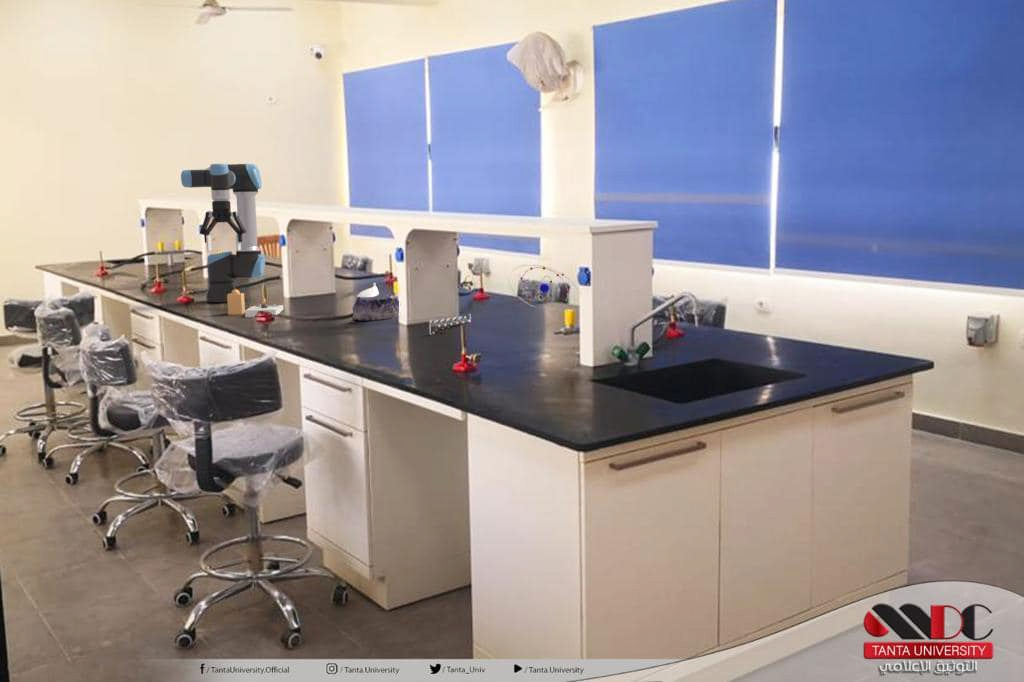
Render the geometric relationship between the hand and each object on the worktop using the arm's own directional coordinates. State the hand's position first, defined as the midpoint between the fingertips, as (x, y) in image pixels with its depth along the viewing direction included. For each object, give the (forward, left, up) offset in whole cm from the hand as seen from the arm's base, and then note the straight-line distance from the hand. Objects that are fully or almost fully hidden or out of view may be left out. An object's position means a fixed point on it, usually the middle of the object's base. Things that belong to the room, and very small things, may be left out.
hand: (224, 250), depth 428 cm
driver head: (-48, +61, -25) cm, 81 cm away
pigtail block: (-3, +15, -28) cm, 32 cm away
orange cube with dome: (-7, +2, -29) cm, 29 cm away
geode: (+27, +66, -29) cm, 77 cm away
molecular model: (+57, +99, -31) cm, 119 cm away
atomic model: (+2, +123, -20) cm, 124 cm away
